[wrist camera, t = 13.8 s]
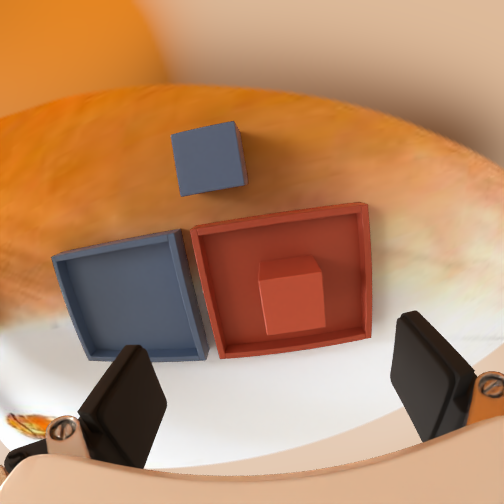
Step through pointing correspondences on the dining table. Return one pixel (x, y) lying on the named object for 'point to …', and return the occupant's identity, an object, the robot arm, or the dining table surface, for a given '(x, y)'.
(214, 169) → the blue block
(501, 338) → the dining table surface
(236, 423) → the dining table surface
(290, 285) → the red block
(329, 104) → the dining table surface
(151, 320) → the blue tray
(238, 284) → the red tray
